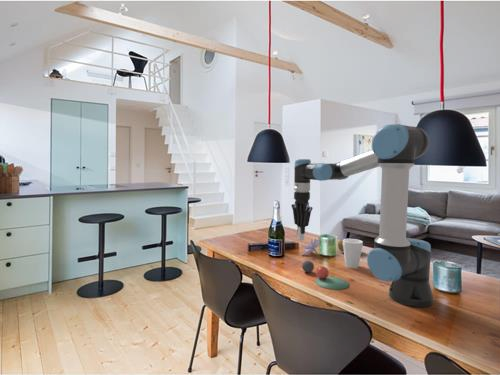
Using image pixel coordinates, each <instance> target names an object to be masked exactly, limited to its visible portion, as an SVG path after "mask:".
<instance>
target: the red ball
mask: <svg viewBox="0 0 500 375" xmlns="http://www.w3.org/2000/svg"><path fill="white" fill-rule="evenodd" d="M329 274H330V272H329V270H328V268H327V267H325V266H323V265H321V266H319V267H318V268H316V270H315V275H316V276H317V278H320V279H326V278H327V277H329Z"/></svg>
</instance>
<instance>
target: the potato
mask: <svg viewBox="0 0 500 375" xmlns="http://www.w3.org/2000/svg"><path fill="white" fill-rule="evenodd" d="M343 240H344V239H340V240H339V241H338V242H337V247H338V249H339V251H341V252H342V253H344V248H343Z"/></svg>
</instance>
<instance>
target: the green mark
mask: <svg viewBox="0 0 500 375" xmlns="http://www.w3.org/2000/svg"><path fill="white" fill-rule="evenodd" d="M315 284H316V285H317V286H318V287H320V288H323V289H328V290H333V291H340V290H341V291H342V290H346V289H348V288H349V287H350V283H349V282H348V281H346V280H345V279H343V278H339V277H335V276H328V277H327V278H326V279H320V278H319V277H317V278H316V279H315Z"/></svg>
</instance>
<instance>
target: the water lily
mask: <svg viewBox="0 0 500 375" xmlns="http://www.w3.org/2000/svg"><path fill="white" fill-rule="evenodd" d="M320 241H321V236H319V237H318V238H315V239H314V240H313V239H310V244H304V249H305V250H304V251H303V254H301V256H303V257H304V256H306V255H308V254H309V253H312V252H315V254H316V256H317V257H320V255H319V253H318V252H317V250H316V249H317V248H318V247H319V245H320V244H321V243H320Z"/></svg>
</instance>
